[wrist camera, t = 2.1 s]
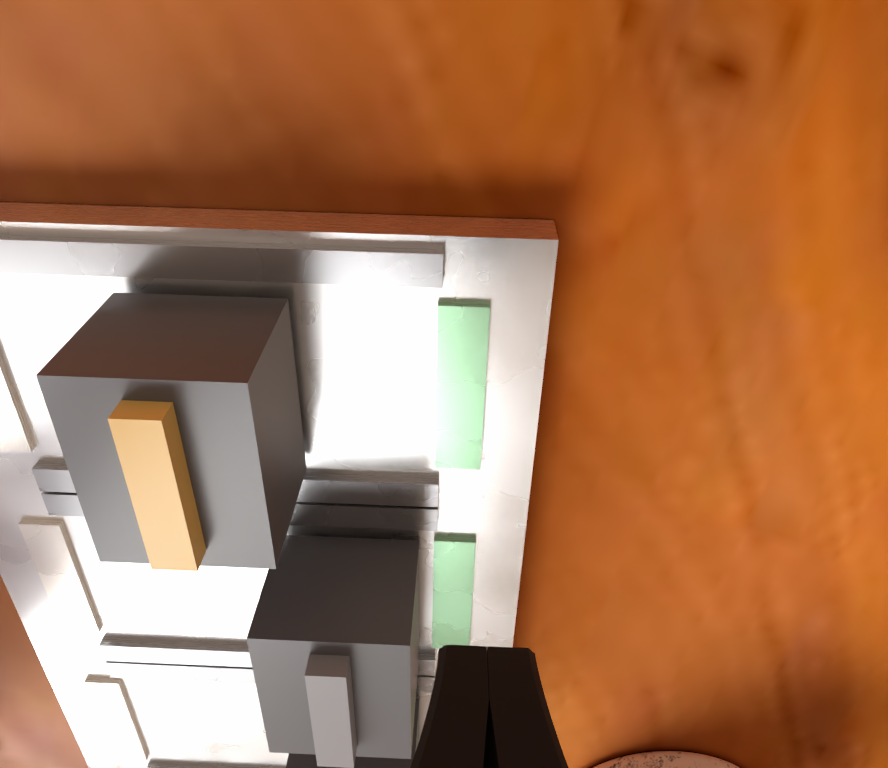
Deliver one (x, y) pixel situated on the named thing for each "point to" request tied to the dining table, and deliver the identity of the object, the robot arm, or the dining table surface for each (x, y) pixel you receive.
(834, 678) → the dining table surface
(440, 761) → the robot arm
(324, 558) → the breaker
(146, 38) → the dining table surface
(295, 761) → the breaker
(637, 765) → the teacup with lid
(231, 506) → the block
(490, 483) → the breaker panel
